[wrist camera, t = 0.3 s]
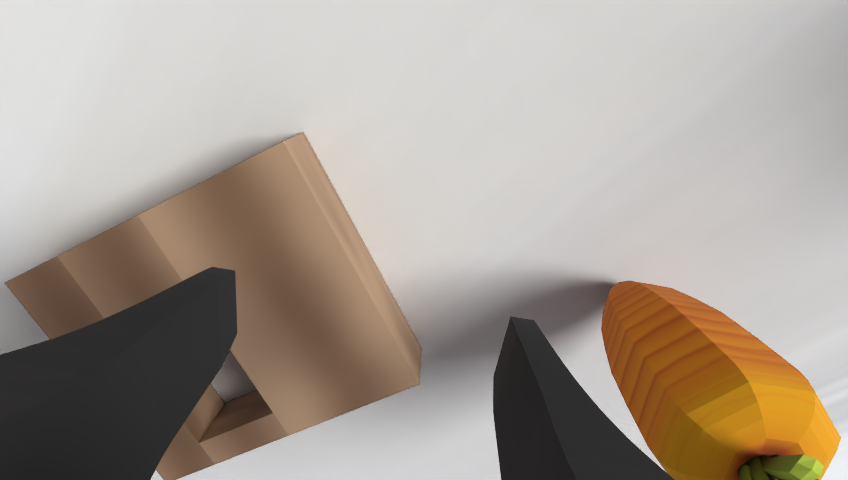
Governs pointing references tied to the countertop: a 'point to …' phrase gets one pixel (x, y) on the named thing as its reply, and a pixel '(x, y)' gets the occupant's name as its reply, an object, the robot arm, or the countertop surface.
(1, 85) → the countertop surface
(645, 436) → the carrot
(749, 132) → the countertop surface
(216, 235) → the board
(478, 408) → the countertop surface
